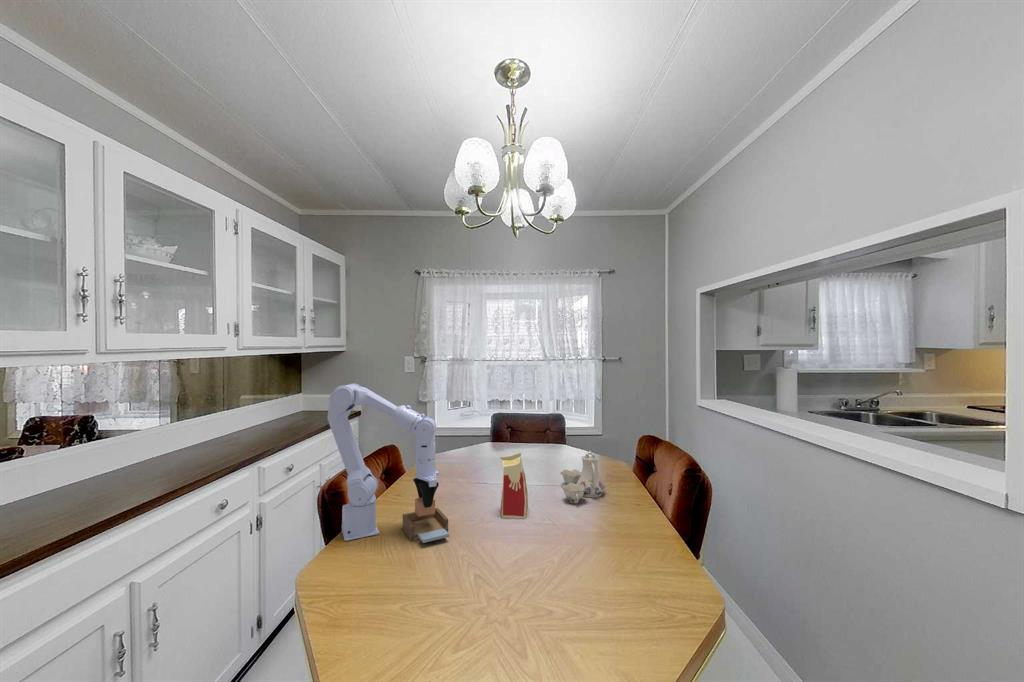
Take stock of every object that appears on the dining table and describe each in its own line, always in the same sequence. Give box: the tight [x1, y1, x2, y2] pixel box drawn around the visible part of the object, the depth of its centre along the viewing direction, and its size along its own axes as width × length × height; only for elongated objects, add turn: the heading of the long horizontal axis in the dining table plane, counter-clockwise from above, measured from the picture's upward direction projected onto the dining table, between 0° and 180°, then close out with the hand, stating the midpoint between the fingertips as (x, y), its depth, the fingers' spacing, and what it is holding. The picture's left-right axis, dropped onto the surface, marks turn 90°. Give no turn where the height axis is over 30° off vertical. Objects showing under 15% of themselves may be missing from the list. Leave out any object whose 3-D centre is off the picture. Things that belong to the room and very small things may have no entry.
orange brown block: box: [414, 497, 436, 517], centre depth 121 cm, size 5×4×4 cm
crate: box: [402, 507, 449, 542], centre depth 121 cm, size 11×11×4 cm
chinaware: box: [560, 450, 606, 504], centre depth 153 cm, size 28×17×17 cm, turn 179°
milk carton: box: [499, 452, 529, 520], centre depth 134 cm, size 9×9×20 cm
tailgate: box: [418, 529, 450, 544], centre depth 114 cm, size 8×1×5 cm
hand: (425, 504), depth 121 cm, fingers closed on orange brown block, 4 cm apart
